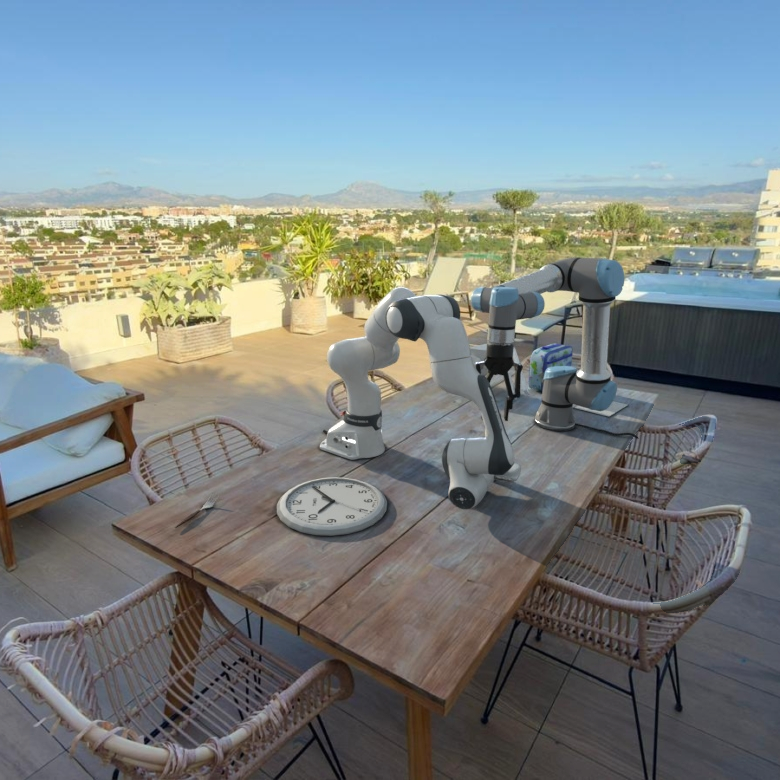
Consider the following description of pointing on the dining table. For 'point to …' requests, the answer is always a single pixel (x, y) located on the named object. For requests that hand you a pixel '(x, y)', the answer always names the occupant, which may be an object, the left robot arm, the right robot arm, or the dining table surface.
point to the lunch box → (547, 362)
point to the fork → (206, 505)
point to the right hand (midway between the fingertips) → (494, 418)
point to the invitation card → (609, 411)
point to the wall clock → (331, 506)
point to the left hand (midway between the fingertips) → (491, 456)
